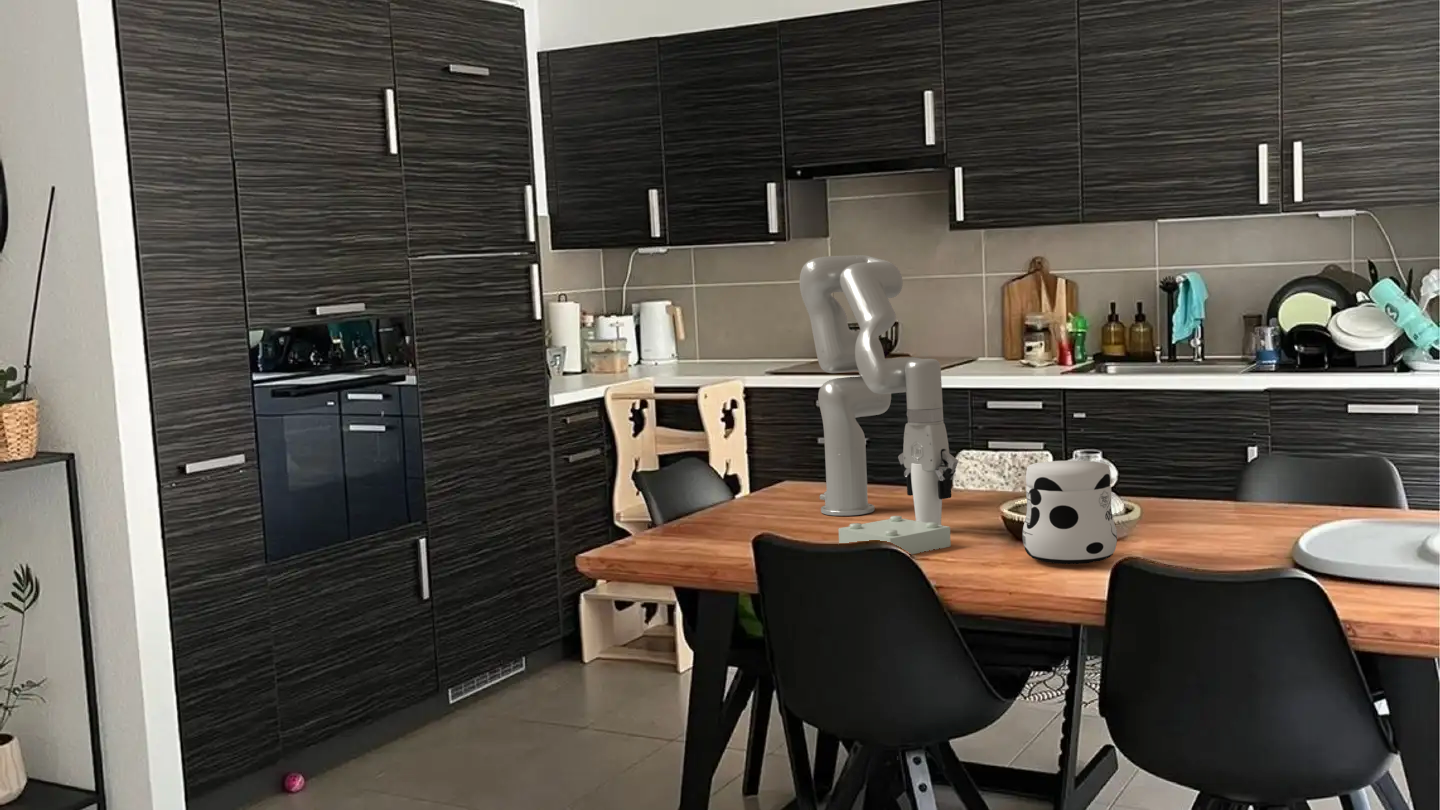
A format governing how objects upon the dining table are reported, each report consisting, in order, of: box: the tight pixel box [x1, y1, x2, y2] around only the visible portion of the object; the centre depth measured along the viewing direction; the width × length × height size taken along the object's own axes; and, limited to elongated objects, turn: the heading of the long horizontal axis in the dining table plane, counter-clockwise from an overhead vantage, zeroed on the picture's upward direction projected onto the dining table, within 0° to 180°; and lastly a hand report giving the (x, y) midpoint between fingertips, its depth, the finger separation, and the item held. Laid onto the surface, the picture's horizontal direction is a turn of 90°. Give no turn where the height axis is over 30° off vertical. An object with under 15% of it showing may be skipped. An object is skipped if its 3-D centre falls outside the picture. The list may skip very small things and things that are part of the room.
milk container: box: [1022, 460, 1118, 565], centre depth 262 cm, size 17×17×18 cm
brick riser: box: [838, 515, 952, 555], centre depth 282 cm, size 16×16×5 cm
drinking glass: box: [911, 463, 944, 525], centre depth 297 cm, size 7×7×15 cm
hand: (929, 496), depth 296 cm, fingers open, 9 cm apart
